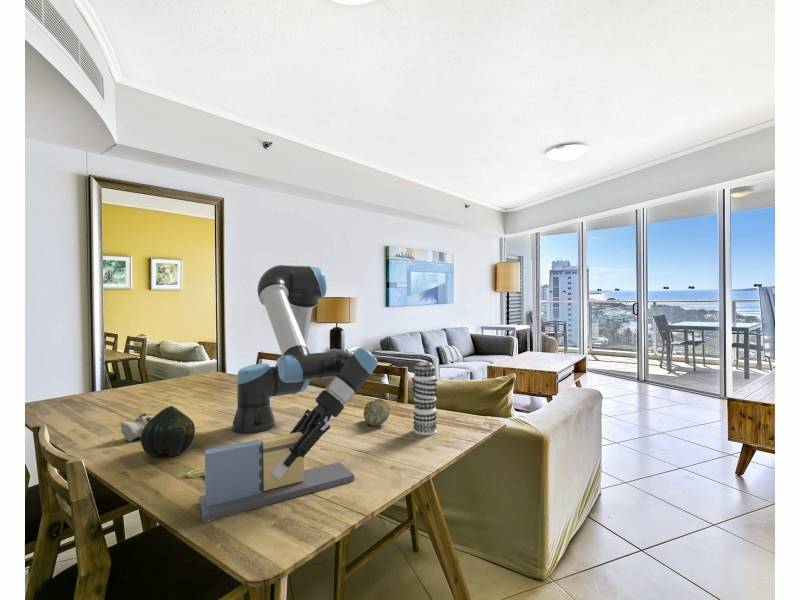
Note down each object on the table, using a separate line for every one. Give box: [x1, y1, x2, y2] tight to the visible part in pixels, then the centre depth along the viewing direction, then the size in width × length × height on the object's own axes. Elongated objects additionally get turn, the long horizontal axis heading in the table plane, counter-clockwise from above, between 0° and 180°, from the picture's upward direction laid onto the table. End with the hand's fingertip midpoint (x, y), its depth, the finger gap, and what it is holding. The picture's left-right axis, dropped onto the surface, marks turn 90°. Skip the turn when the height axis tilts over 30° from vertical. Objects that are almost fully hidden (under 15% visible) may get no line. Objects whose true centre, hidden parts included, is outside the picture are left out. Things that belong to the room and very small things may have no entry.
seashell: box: [363, 398, 391, 427], centre depth 151 cm, size 11×11×10 cm
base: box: [198, 461, 355, 523], centre depth 98 cm, size 36×10×2 cm, turn 122°
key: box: [185, 466, 205, 477], centre depth 108 cm, size 7×12×2 cm, turn 69°
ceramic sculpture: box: [120, 413, 155, 442], centre depth 139 cm, size 11×9×15 cm
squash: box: [140, 405, 196, 457], centre depth 124 cm, size 14×15×15 cm
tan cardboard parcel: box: [260, 432, 305, 491], centre depth 98 cm, size 10×3×12 cm, turn 122°
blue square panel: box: [204, 439, 262, 507], centre depth 92 cm, size 12×3×12 cm, turn 122°
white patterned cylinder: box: [411, 361, 438, 436], centre depth 141 cm, size 9×9×25 cm
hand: (273, 473), depth 97 cm, fingers closed on tan cardboard parcel, 3 cm apart
